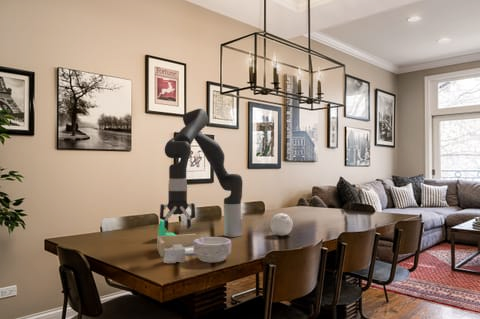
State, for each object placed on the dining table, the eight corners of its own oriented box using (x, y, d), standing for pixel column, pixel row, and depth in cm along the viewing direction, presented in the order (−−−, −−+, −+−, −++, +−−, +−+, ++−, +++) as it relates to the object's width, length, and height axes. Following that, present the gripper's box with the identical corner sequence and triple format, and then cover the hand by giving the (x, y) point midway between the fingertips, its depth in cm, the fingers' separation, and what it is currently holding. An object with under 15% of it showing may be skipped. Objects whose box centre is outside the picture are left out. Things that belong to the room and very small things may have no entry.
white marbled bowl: (232, 264, 142) (232, 243, 143) (192, 265, 141) (192, 244, 141) (230, 254, 158) (230, 236, 158) (194, 255, 156) (194, 236, 156)
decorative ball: (277, 238, 192) (277, 215, 193) (266, 234, 203) (266, 212, 204) (297, 236, 197) (297, 214, 198) (285, 232, 208) (285, 211, 208)
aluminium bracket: (161, 257, 153) (161, 245, 153) (181, 256, 156) (181, 244, 156) (164, 263, 144) (164, 250, 144) (185, 261, 146) (185, 249, 146)
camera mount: (178, 241, 186) (178, 221, 187) (163, 243, 183) (163, 222, 184) (172, 237, 197) (172, 218, 198) (158, 238, 194) (158, 219, 194)
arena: (196, 246, 175) (196, 233, 175) (203, 253, 160) (203, 240, 160) (157, 248, 169) (157, 236, 169) (160, 257, 154) (160, 243, 154)
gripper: (193, 188, 158) (193, 227, 158) (159, 189, 154) (158, 228, 154) (196, 189, 151) (196, 229, 151) (161, 190, 147) (160, 231, 147)
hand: (177, 229), depth 152 cm, fingers open, 8 cm apart
